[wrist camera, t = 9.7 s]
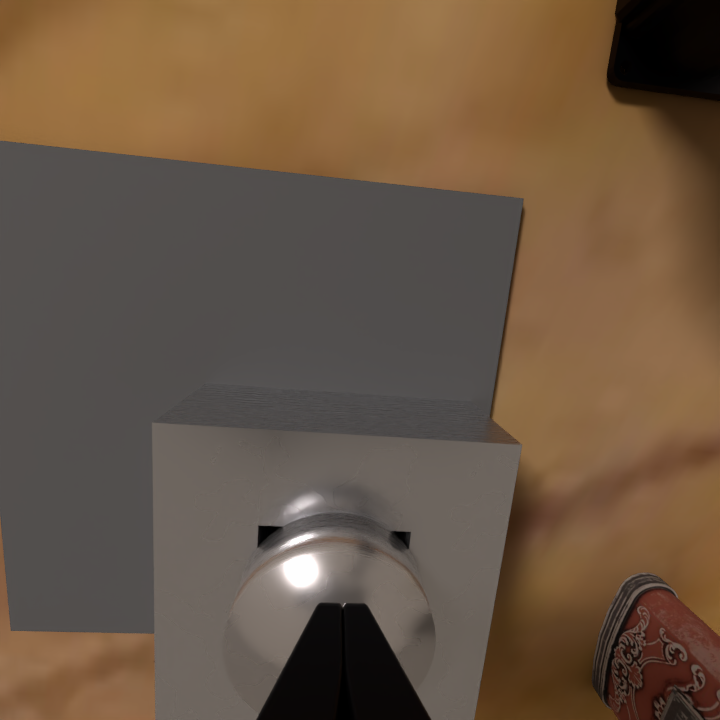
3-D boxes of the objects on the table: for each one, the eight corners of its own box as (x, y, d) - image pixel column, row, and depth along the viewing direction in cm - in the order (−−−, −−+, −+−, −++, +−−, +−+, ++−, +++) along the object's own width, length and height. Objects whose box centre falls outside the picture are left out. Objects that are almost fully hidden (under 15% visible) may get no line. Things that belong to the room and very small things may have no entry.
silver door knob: (407, 459, 18) (448, 557, 11) (393, 581, 19) (422, 732, 12) (266, 451, 17) (225, 549, 11) (260, 577, 18) (220, 733, 12)
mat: (519, 200, 17) (523, 198, 16) (452, 632, 21) (454, 639, 20) (-25, 140, 15) (-35, 136, 15) (17, 623, 19) (11, 630, 19)
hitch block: (470, 401, 18) (521, 444, 13) (438, 622, 20) (471, 732, 15) (205, 383, 17) (152, 422, 12) (202, 617, 19) (155, 731, 14)
